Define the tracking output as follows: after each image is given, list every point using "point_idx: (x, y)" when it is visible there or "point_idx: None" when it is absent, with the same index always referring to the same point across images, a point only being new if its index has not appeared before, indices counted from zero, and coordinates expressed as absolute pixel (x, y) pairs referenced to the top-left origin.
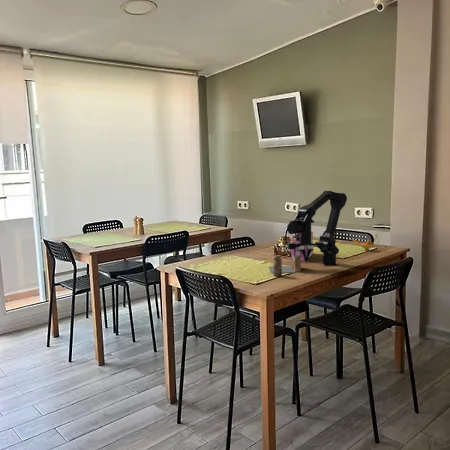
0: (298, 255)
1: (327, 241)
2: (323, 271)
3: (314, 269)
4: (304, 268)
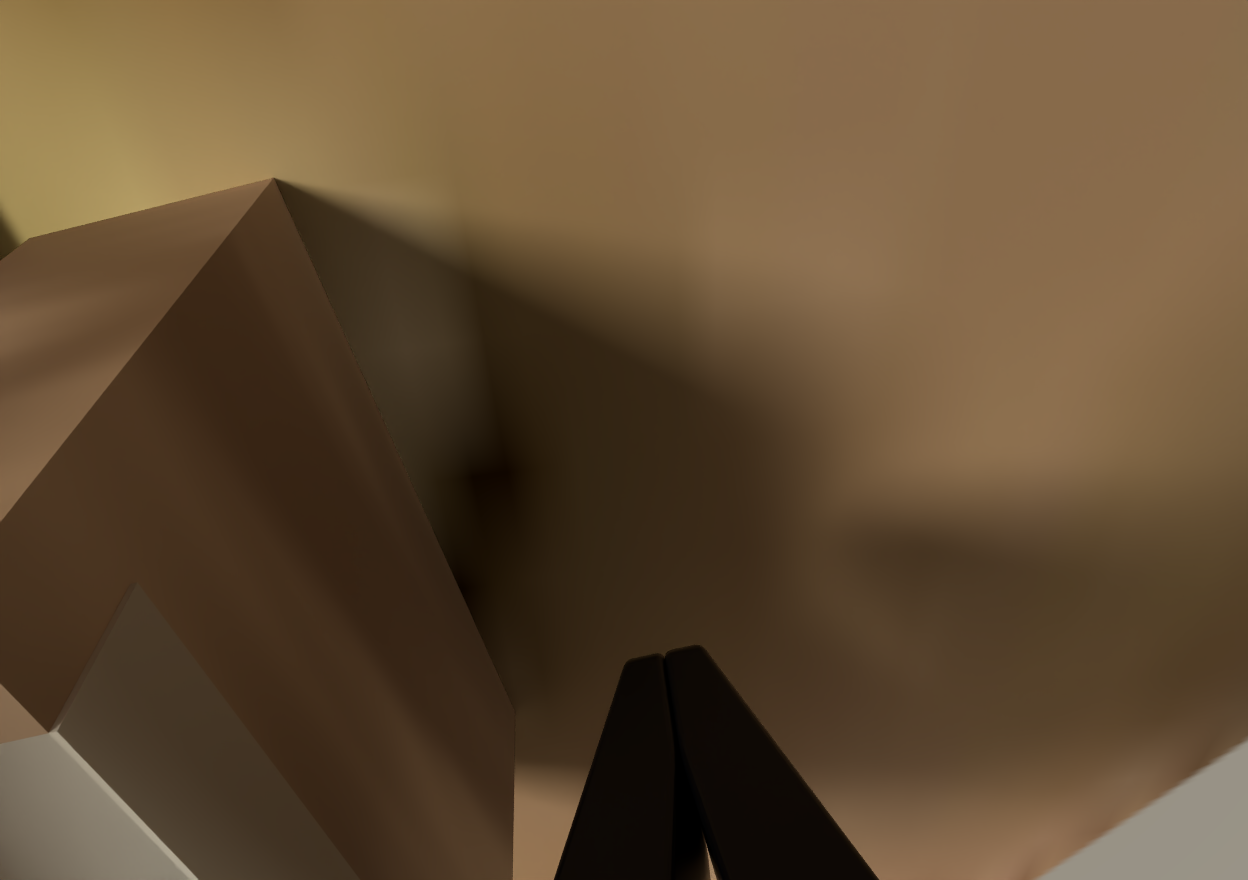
0: (149, 872)
1: None
2: (1133, 592)
3: (923, 427)
4: (570, 342)
